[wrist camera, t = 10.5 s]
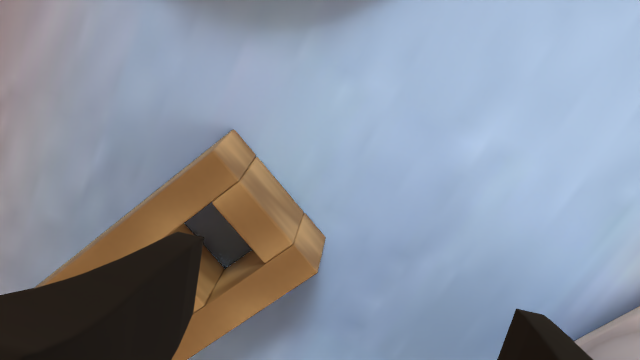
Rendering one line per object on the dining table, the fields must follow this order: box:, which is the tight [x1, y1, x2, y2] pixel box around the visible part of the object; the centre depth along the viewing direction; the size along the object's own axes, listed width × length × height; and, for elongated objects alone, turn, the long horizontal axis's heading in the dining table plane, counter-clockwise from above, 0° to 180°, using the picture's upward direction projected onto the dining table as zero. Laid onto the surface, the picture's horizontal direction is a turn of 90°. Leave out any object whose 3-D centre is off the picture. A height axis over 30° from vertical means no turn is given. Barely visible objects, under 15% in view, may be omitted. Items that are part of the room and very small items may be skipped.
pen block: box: [35, 130, 326, 360], centre depth 24 cm, size 6×15×3 cm, turn 129°
